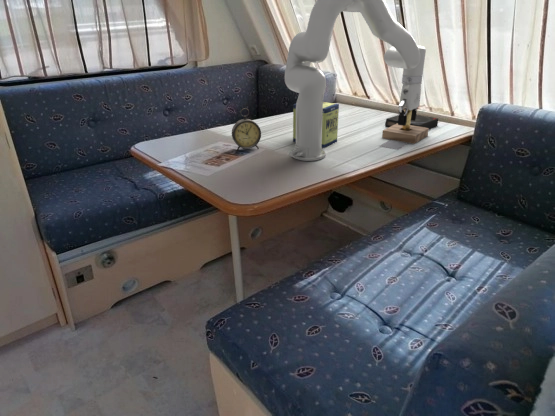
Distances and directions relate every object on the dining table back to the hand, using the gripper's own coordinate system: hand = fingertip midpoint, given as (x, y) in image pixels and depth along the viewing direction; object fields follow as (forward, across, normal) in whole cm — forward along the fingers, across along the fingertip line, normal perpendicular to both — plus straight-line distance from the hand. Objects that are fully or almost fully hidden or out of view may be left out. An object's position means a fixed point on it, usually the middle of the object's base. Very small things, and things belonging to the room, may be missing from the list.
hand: (406, 122), depth 169 cm
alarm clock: (+7, -51, +43) cm, 67 cm away
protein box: (+7, -27, +27) cm, 39 cm away
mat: (+6, -13, -1) cm, 14 cm away
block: (+6, 0, 0) cm, 6 cm away
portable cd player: (+7, +18, +5) cm, 20 cm away
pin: (+6, 0, 0) cm, 6 cm away
